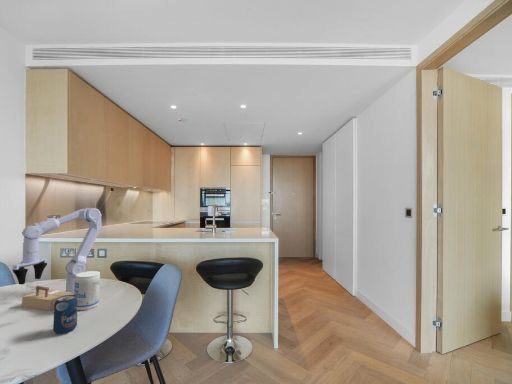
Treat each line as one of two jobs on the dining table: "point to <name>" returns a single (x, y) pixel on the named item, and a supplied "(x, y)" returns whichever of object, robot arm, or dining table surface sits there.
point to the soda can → (65, 314)
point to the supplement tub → (87, 289)
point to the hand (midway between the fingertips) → (30, 281)
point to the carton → (42, 303)
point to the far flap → (42, 296)
